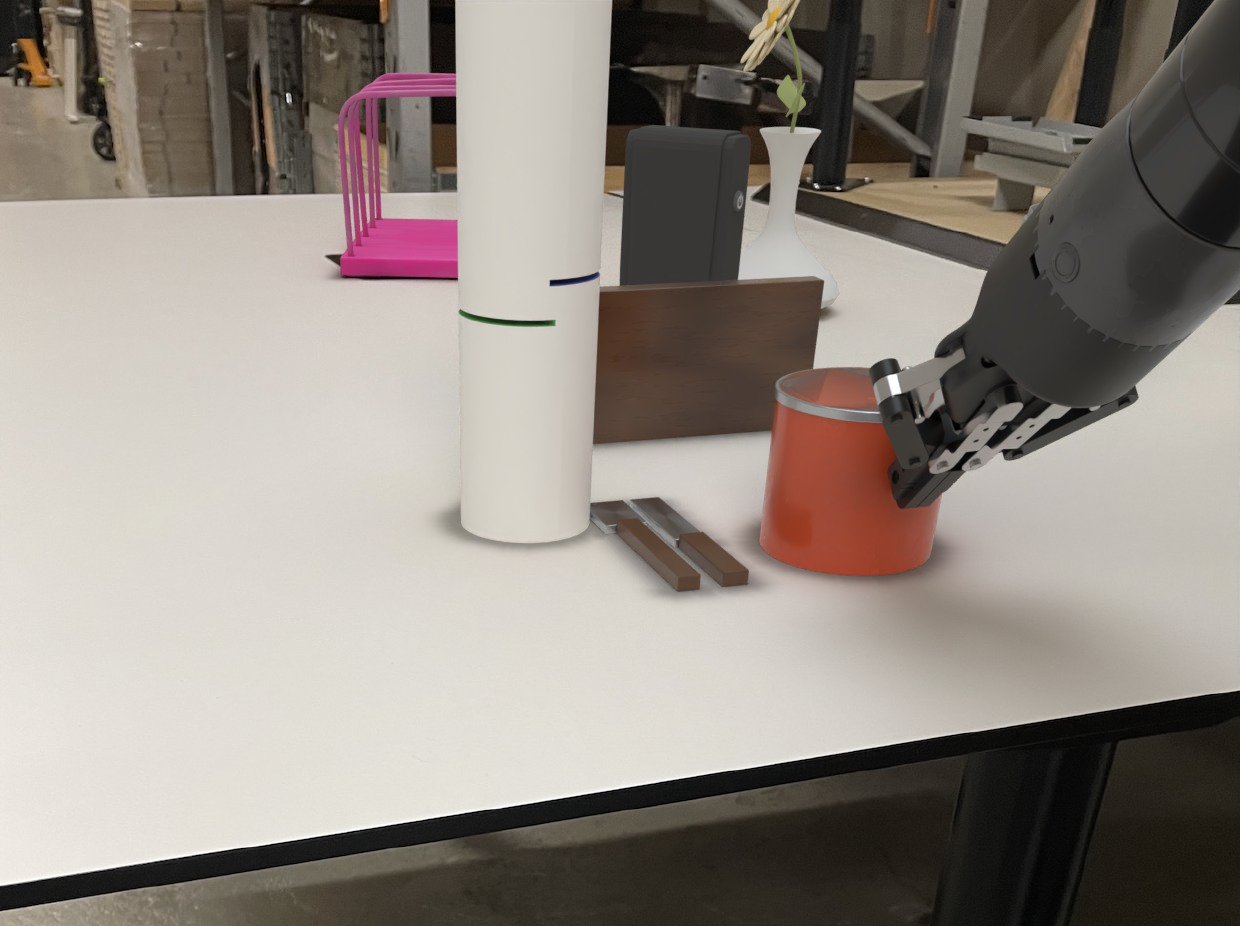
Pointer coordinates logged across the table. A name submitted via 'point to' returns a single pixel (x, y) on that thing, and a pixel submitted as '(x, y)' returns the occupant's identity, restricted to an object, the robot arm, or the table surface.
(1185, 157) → the robot arm
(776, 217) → the flower in vase
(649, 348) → the wooden board
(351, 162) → the file sorter
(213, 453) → the table surface
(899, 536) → the tin can
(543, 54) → the cylindrical container
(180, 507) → the table surface
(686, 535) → the cutlery
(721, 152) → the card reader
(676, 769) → the table surface
